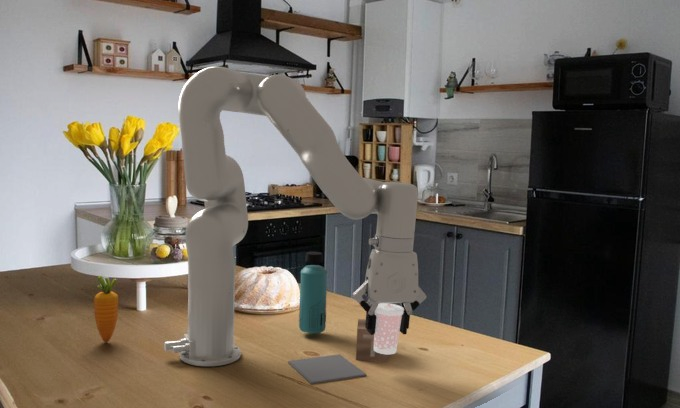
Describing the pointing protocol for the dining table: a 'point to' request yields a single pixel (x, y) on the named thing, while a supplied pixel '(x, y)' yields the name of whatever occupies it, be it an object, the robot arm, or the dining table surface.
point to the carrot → (106, 309)
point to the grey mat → (326, 369)
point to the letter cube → (367, 345)
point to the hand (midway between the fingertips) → (386, 331)
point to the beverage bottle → (313, 295)
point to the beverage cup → (387, 328)
